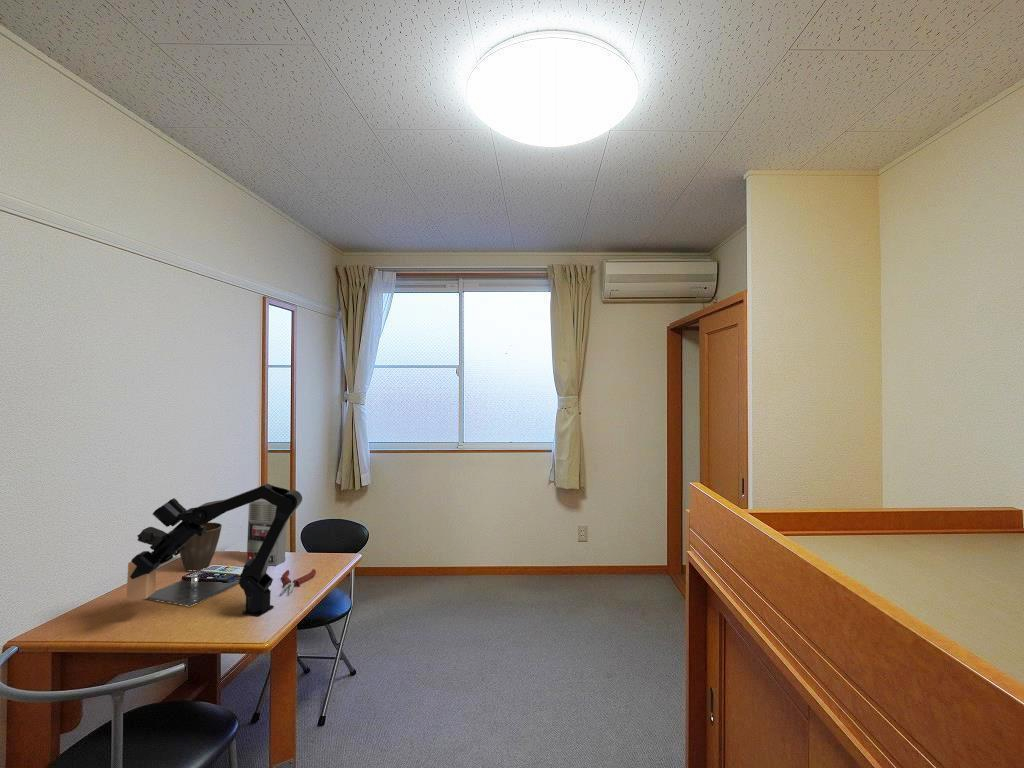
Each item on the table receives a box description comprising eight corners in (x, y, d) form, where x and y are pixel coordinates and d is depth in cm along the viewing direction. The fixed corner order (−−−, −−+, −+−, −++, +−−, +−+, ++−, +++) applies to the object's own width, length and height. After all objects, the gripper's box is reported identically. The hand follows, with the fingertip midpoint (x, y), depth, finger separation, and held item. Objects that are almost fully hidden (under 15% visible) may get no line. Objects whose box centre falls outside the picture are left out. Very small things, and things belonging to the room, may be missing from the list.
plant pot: (197, 560, 186) (199, 521, 187) (229, 563, 184) (230, 523, 184) (163, 573, 172) (165, 531, 172) (197, 577, 169) (199, 534, 170)
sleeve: (155, 592, 140) (156, 556, 141) (145, 599, 135) (147, 562, 136) (136, 593, 139) (138, 557, 140) (126, 600, 134) (128, 563, 135)
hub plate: (241, 582, 165) (241, 567, 165) (190, 607, 145) (190, 590, 146) (197, 576, 170) (198, 561, 170) (142, 599, 150) (143, 582, 150)
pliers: (266, 598, 154) (266, 591, 154) (285, 575, 173) (285, 569, 173) (302, 597, 156) (302, 589, 156) (316, 574, 175) (317, 567, 175)
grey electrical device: (244, 563, 183) (247, 502, 184) (255, 558, 189) (257, 498, 190) (275, 566, 181) (278, 504, 182) (285, 561, 187) (287, 500, 188)
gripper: (175, 511, 148) (135, 546, 146) (140, 527, 130) (94, 568, 127) (200, 534, 149) (161, 569, 147) (170, 553, 131) (125, 594, 129)
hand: (136, 574), depth 137 cm, fingers closed on sleeve, 5 cm apart
